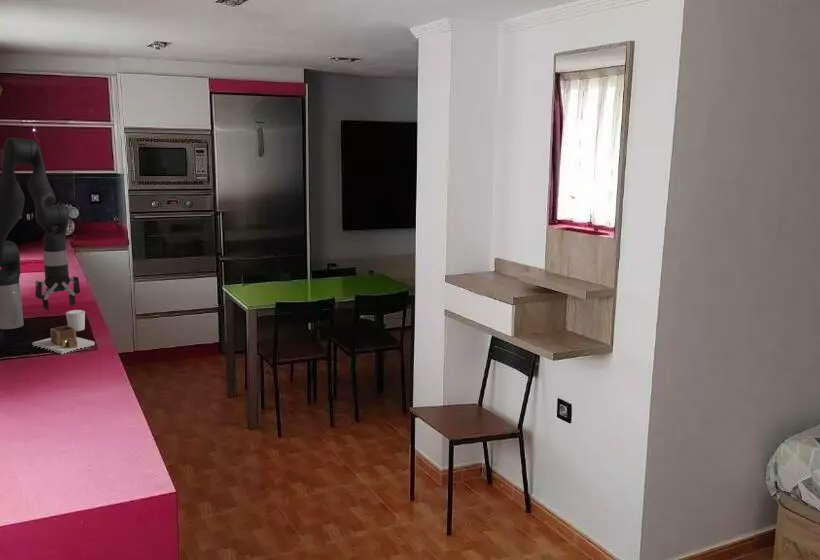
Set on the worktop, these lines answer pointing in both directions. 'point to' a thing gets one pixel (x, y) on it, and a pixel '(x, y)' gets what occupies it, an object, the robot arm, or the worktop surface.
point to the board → (53, 347)
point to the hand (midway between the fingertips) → (59, 307)
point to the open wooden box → (64, 336)
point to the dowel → (64, 343)
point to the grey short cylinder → (76, 319)
